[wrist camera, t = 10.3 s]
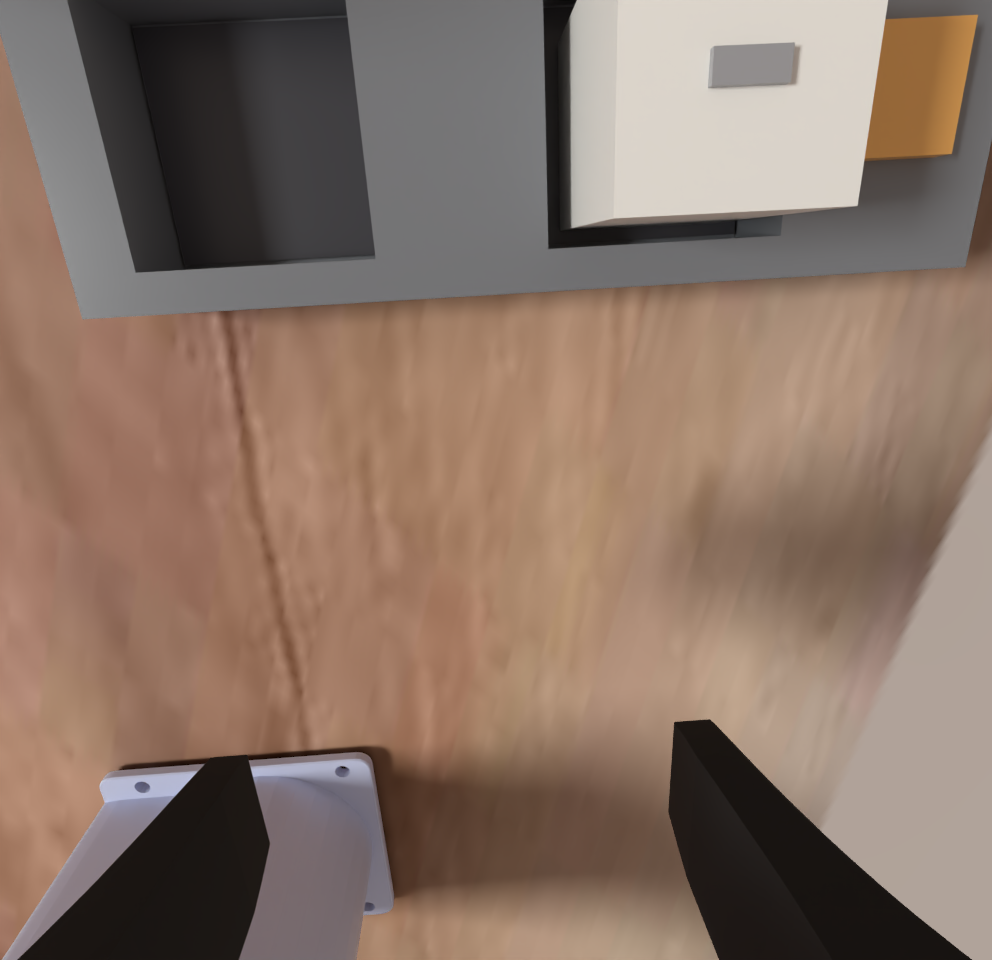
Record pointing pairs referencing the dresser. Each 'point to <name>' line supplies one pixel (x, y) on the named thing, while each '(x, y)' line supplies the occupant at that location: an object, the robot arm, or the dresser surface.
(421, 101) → the power strip
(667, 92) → the block
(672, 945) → the dresser surface
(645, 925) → the dresser surface
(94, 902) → the robot arm
